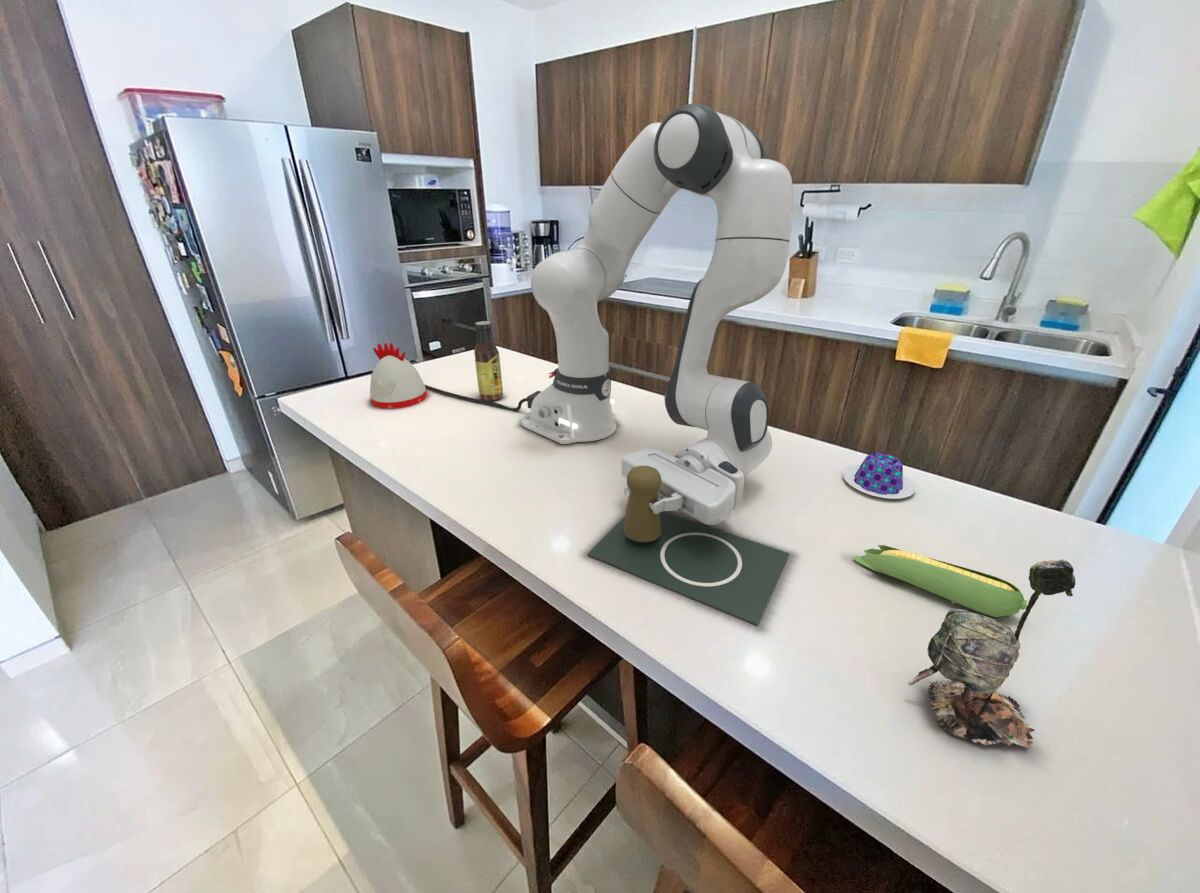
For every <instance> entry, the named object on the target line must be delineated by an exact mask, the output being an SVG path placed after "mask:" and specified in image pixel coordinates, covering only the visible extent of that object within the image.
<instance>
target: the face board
mask: <svg viewBox="0 0 1200 893" xmlns="http://www.w3.org/2000/svg"><path fill="white" fill-rule="evenodd" d="M625 517H626V514H625V515H624V516H623V517H622V518H621V519H620V520H619V521H618V522H617V523H616V524H615V525H613V527H612V528H611V529H610V530H609V531H608V532H607V533H606V534H605V535H604V536H603V537H602V538H601V540H599V541H598V542H597V544H596V545H595V546H594V547H593V548H592V549H590V551H589V552H588V553H587V556H588V557H590V558H593V559H595V560H597V561H600V562H603V563H604V564H607V565H609V566H612V567H614V568H617V569H619V570H621V571H623V572H627V573H628V574H631V575H634V576H636V577H638V578H641V579H643V580H645V581H648V582H651V583H653V584H656V585H658V586H659V587H663V588H665V589H668V590H670V591H673V592H674V593H677V594H679V595H682V596H685V597H687V598H689V599H692V600H694V601H697V602H699V603H701V604H704V605H705V606H706V605H707V606H708V607H711V608H713V609H715V610H718V611H720V612H723V613H726V614H728V615H731V616H733V617H735V618H737V619H741V620H742V621H744V622H747V623H749V624H752V625H754V626H757V627H758V626H759V624H760V622H761V620H762V618H763V615H764V612H765V611H766V608H767V606H768V604H769V601H770V599H771V597H772V595H773V592H774V590H775V588H776V586H777V584H778V581H779V579H780V576H781V574H782V572H783V570H784V568H785V565H786V563H787V561H788V558H789V556H790V552H787V551H784V550H780V549H777V548H775V547H772V546H768V545H766V544H763V543H760V542H757V541H754V540H751V539H748V538H744V537H742V536H739V535H736V534H733V533H730V532H728V531H724V530H721V529H717V528H715V527H712V526H710V525H706V524H704V523H700V522H697V521H694V520H692V519H688V518H684V517H681V516H678V515H675V514H673V513H669V512H668V511H662V512H660V521H661V530H662V533H661V535H660V536H659V537H658V538H657V539H656V540H653V541H650V542H637V541H633V540H631V539H629V538H628V537H627V536H626V535H625V533H624V523H625Z"/></svg>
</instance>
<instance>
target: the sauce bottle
mask: <svg viewBox="0 0 1200 893" xmlns="http://www.w3.org/2000/svg"><path fill="white" fill-rule="evenodd" d="M474 327H475V330H476V340H477V342H476V345H475V346H474V348H473V350H474V351H473V352H474V364H475V371H476V372H475V373H476V379H477V388H478V393H479V399H480V400H484V401H490V402H494V401H498V400H500V399H501V398H503V396H504V395H503V394H504V392H503V391H504V387H503V376H502V369H501V359H500V352H499V350H498V347H497V345H496V344H495V341H494V337H493V330H492V328H493V326H492V322H491V321H489V320H488V321H487V320H482V321H477V322H476V321H475V323H474Z"/></svg>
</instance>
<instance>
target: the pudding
mask: <svg viewBox="0 0 1200 893" xmlns="http://www.w3.org/2000/svg"><path fill="white" fill-rule="evenodd" d="M842 477H843V479H844V480H845V482H846V483H847V484H848V485H850V486H851V487H852V488H853V489H856V490H858V491H859V492H862V493H864V494H867V495H870V496H873V497H877V498H882V499H883V498H884V499H891V500H892V499H894V500H895V499H897V500H898V499H905V498H909V497H910V496H912V495H913V494H914V493H915V492H916V485H915V484H914V482H913V481H912V480H911V479H910V478H909V477H907V476H906V475H904V467H903V463H902V462H901V461H900V459H899V458H897V457H895V456H892V455H890V454H887V453H880V452H873V453H870V454H868V455H866V456H865V458H864V459H863V461H862V463H860V464H853V465H850V466H848V467H847V468H845V469H844V470H843V472H842Z"/></svg>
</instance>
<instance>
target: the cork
mask: <svg viewBox="0 0 1200 893" xmlns="http://www.w3.org/2000/svg"><path fill="white" fill-rule="evenodd" d="M661 481H662V480H661V475H660V473H659V472H658V470H657V469H655V468H653V467H651V466H637V467H634V468H632V469H631V470H630V471H629V473H628V475H627V478H626V486H628V488H629V490H630V493H629V497H628V499H627V504H626V505H627V507H626V510H625V515H626V517H625V523H624V533H625V535H626V536H627V537H628V538H629V539H631V540H633V541H637V542H650V541H653V540H656V539H657V538H658V537H659V536H660V535H661V533H662V530H661V521H660V513H658V514H654V513H653V512H651V511H650V510H649V502H650V501H652V500H654V499H655V498H656V497H658V493H657V491H658V490H659V488H660V486H661ZM658 498H659V497H658Z"/></svg>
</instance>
